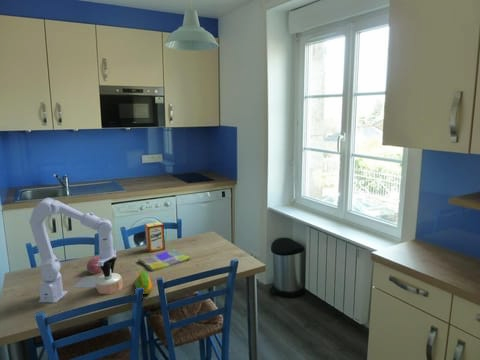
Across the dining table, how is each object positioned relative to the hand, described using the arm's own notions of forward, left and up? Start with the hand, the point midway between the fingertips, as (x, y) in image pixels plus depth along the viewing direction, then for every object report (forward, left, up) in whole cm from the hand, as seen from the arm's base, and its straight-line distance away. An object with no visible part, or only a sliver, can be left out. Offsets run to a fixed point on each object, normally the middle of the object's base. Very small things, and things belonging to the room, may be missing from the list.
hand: (108, 274), depth 165 cm
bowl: (0, 0, -7) cm, 7 cm away
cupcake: (+20, +18, -5) cm, 27 cm away
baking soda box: (+50, -6, -7) cm, 51 cm away
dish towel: (+33, -16, -8) cm, 37 cm away
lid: (0, +1, -3) cm, 3 cm away
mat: (+6, +12, -7) cm, 15 cm away
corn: (+1, -15, -8) cm, 17 cm away
